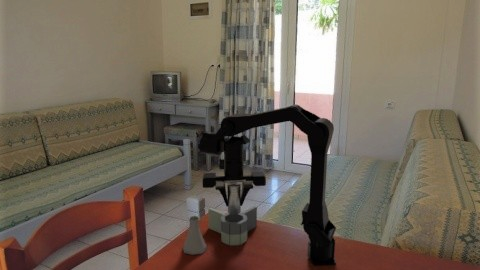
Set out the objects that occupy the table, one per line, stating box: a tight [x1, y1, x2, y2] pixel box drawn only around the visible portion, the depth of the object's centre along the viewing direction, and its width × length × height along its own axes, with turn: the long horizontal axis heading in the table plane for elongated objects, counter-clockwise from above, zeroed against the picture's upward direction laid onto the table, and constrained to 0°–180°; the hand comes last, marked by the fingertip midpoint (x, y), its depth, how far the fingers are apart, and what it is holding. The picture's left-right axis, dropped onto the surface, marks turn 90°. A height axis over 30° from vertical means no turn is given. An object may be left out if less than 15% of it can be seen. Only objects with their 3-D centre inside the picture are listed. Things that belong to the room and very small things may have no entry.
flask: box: [182, 215, 208, 256], centre depth 104 cm, size 7×7×10 cm
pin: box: [226, 182, 242, 215], centre depth 108 cm, size 4×4×9 cm
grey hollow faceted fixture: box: [221, 205, 258, 235], centre depth 113 cm, size 15×8×7 cm, turn 139°
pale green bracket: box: [207, 207, 248, 246], centre depth 112 cm, size 15×8×7 cm, turn 49°
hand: (234, 205), depth 108 cm, fingers closed on pin, 4 cm apart
